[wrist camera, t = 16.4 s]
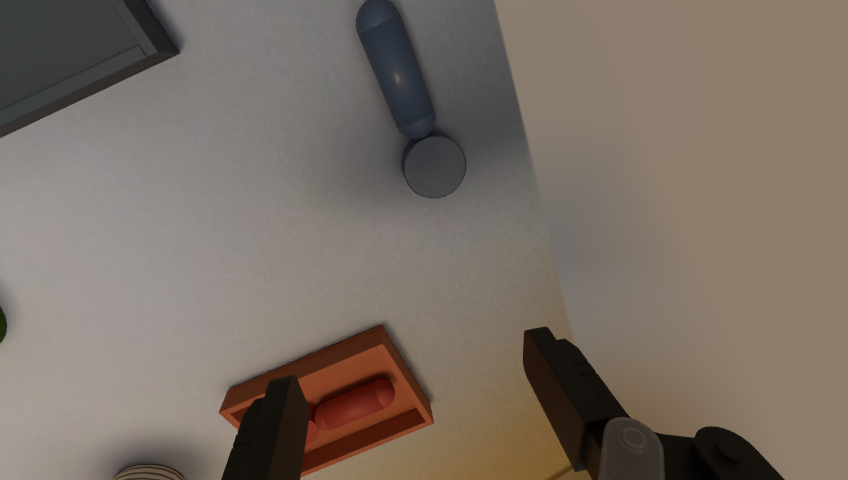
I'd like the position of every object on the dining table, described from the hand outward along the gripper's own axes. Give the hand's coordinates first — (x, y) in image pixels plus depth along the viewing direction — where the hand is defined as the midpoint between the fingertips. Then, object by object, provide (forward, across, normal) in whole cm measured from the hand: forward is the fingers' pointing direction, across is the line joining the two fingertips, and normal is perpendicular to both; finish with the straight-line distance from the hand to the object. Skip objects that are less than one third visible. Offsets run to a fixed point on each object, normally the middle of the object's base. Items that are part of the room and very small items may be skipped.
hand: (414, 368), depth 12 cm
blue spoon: (+14, -2, -7) cm, 16 cm away
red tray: (+14, +8, +17) cm, 23 cm away
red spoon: (+13, +8, +17) cm, 23 cm away
